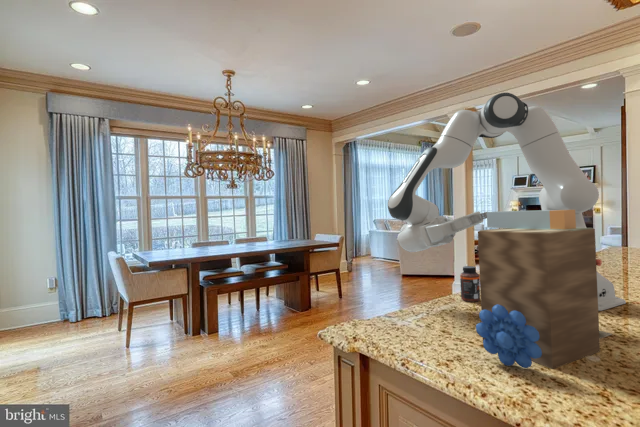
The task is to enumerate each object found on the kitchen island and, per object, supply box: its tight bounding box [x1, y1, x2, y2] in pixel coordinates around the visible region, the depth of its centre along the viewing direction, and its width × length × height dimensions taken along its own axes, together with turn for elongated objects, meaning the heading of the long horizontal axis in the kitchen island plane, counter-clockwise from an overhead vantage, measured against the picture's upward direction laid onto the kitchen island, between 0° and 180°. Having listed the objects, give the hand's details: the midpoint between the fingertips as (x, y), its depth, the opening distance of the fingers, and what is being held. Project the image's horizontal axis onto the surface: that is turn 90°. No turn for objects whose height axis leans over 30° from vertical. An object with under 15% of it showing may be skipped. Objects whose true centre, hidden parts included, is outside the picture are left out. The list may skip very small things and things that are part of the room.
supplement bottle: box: [459, 265, 481, 303], centre depth 119 cm, size 6×6×11 cm
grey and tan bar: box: [486, 209, 576, 229], centre depth 84 cm, size 19×4×4 cm, turn 25°
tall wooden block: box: [477, 227, 601, 369], centre depth 78 cm, size 16×16×26 cm
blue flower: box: [475, 304, 542, 369], centre depth 69 cm, size 12×7×12 cm, turn 52°
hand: (478, 217), depth 99 cm, fingers open, 8 cm apart
